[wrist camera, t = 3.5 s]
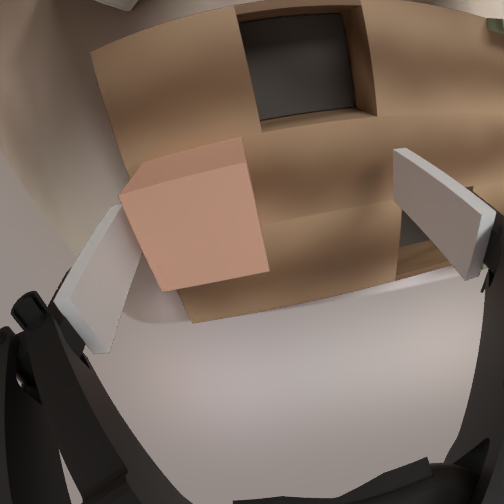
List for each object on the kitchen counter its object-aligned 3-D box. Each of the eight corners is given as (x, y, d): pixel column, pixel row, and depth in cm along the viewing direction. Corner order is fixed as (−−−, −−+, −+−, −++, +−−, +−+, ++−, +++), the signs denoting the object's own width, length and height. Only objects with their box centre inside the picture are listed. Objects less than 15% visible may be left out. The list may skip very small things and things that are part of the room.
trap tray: (111, 52, 13) (59, 52, 8) (507, 32, 11) (564, 42, 6) (195, 294, 23) (190, 358, 18) (497, 226, 22) (535, 264, 17)
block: (143, 162, 14) (118, 195, 11) (241, 137, 14) (245, 162, 11) (173, 244, 17) (162, 291, 14) (260, 225, 17) (269, 271, 13)
